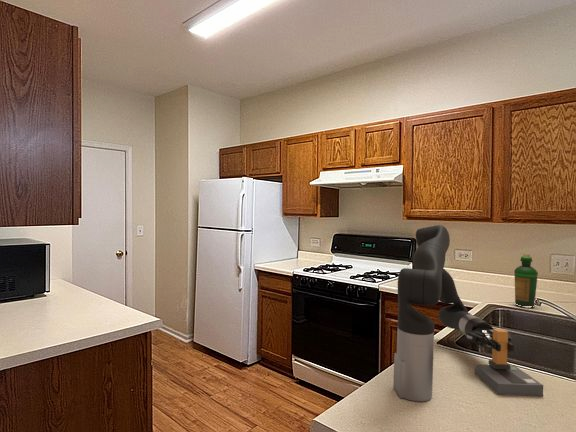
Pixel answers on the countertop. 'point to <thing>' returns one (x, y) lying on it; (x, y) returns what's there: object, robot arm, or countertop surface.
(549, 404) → the countertop surface
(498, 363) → the handle
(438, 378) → the countertop surface
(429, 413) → the countertop surface
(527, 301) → the bottle
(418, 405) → the countertop surface
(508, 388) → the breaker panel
